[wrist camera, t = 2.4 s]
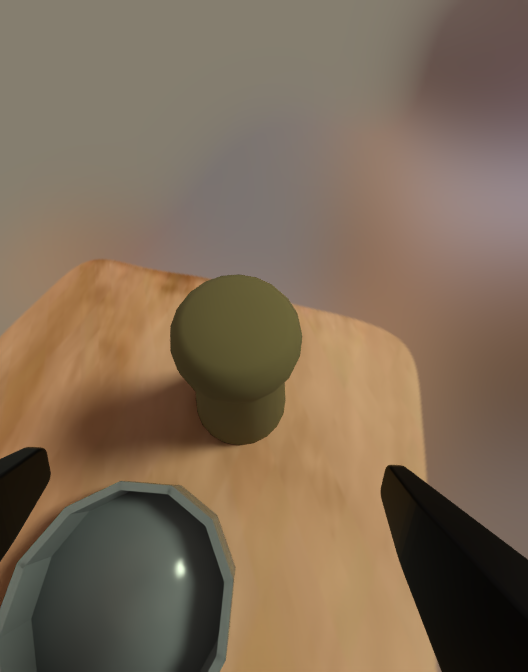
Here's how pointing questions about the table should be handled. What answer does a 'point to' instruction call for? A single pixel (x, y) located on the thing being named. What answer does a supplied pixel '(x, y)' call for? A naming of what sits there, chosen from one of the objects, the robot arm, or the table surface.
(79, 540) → the gray bowl
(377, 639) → the table surface
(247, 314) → the cork
